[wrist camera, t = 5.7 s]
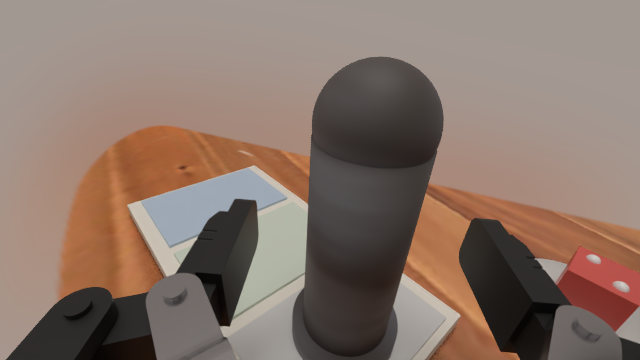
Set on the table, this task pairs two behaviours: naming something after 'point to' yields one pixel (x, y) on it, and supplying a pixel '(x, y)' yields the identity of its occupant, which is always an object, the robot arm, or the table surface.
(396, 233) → the charcoal pawn
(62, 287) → the table surface
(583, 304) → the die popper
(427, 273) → the table surface
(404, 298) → the game board
